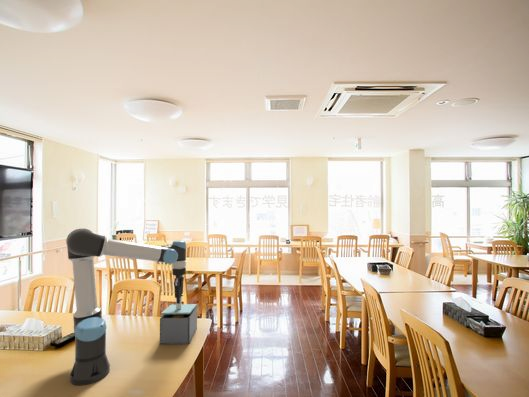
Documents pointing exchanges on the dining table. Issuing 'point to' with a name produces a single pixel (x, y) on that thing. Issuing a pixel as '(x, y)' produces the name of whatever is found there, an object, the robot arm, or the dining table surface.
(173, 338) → the box
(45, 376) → the dining table surface
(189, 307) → the lid
